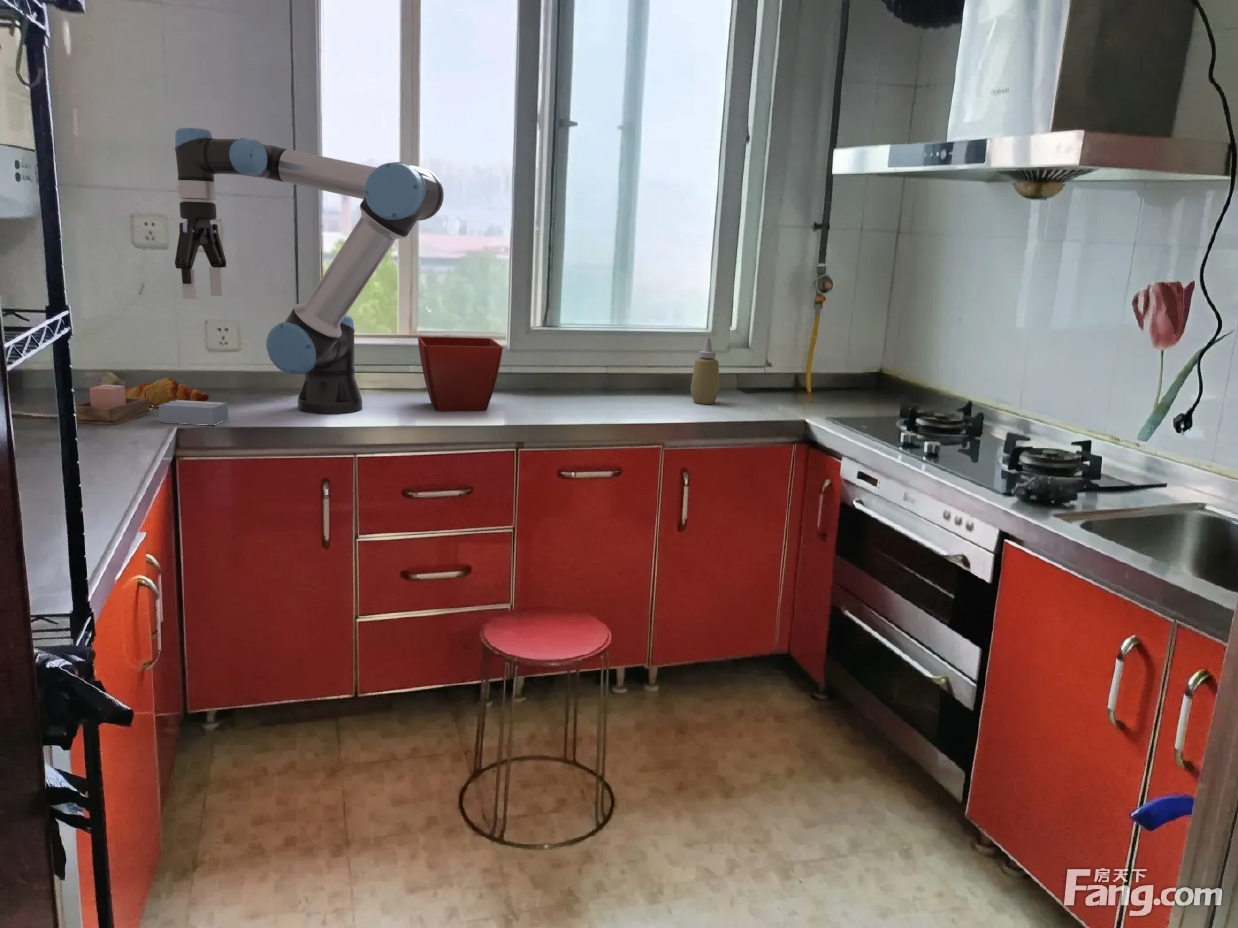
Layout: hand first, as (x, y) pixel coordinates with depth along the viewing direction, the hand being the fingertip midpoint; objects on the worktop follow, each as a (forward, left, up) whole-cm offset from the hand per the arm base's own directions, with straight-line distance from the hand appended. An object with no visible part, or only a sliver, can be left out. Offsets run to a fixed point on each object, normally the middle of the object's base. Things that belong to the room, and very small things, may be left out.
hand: (203, 297), depth 222 cm
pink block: (+15, +15, -25) cm, 33 cm away
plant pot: (-54, -23, -26) cm, 64 cm away
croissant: (+13, -4, -27) cm, 30 cm away
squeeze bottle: (-117, -52, -26) cm, 131 cm away
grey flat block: (-4, +14, -26) cm, 30 cm away
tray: (+15, +15, -26) cm, 34 cm away
